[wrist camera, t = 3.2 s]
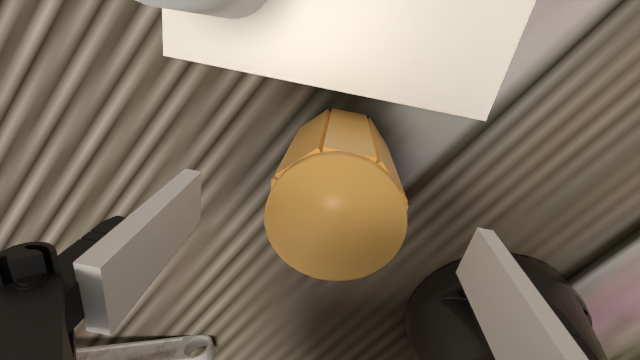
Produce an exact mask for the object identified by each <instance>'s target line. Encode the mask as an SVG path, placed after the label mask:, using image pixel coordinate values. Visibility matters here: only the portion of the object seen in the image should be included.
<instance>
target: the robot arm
mask: <svg viewBox="0 0 640 360" xmlns="http://www.w3.org/2000/svg"><path fill="white" fill-rule="evenodd" d="M200 211H201V172H200V171H195V170H190V169H184V170H183V171H182V172H181V173H179V174H178V175H177V176H176V177H175V178H173V179H172V180H171V181H170V182H169V183H167V184H166V185H165V186H164V187H163V188H161V189H160V190H159V191H158V192H157V193H155V194H154V195H153V196H152V197H151V198H149V199H148V200H147V201H146V202H145V203H143V204H142V205H141V206H140V207H139V208H137V209H136V210H135V211H134V212H133V213H131V214H130V215H129V216H128V217H122V216H115V217H112V218H110V219H108V220H105V221H103V222H101V223H100V224H99V225H97V226H96V227H95V228H93V229H92V230H91V232H88V233H87V234H85V235H84V236H83V237H82V238H81V239H79V240H78V241H76V242H75V243H74V244H72V245H71V246H70V247H69V248H67V249H66V250H65V251H63V252H62V253H61V254H59V255H58V256H57V252H56V249H55V247H54V246H53V245H51V244H49V243H45V242H28V243H23V244H19V245H15V246H12V247H10V248H8V249H5V250H3V251H1V252H0V360H76V342H75V332H74V328H75V327H76V326H77V325H78V324H79V323H80V322H81V320H82V319H83V318H84V321H85V326H86V331H89V332H94V333H100V334H105V335H110V336H111V335H112V333H113V332H114V331H115V329H116V328H117V327H118V326H119V324H120V323H121V322H122V320H123V319H124V318H125V317H126V315H127V314H128V313H129V312H130V310H131V309H132V308H133V306H134V305H135V304H136V303H137V301H138V300H139V299H140V297H141V296H142V295H143V294H144V292H145V291H146V290H147V289H148V287H149V286H150V285H151V283H152V282H153V281H154V280H155V278H156V277H157V276H158V274H159V273H160V272H161V271H162V269H163V268H164V267H165V266H166V264H167V263H168V262H169V260H170V259H171V258H172V257H173V255H174V254H175V253H176V251H177V250H178V249H179V248H180V246H181V245H182V244H183V243H184V241H185V240H186V239H187V237H188V236H189V235H190V234H191V232H192V231H193V230H194V228H195V227H196V226H197V225H198V223H199V222H200ZM405 325H406V331H407V336H408V341H409V345H410V349H411V351H412V354H413V356H414V358H415V360H607V358H606V356H605V353H604V351H603V349H602V347H601V345H600V343H599V341H598V339H597V337H596V335H595V333H594V331H593V329H592V321H591V317H590V314H589V311H588V309H587V307H586V305H585V303H584V301H583V300H582V298H581V297H580V295H579V294H578V293H577V292H576V291H575V290H574V288H573V287H572V286H571V285H570V284H569V283H568V282H567V281H566V279H565V278H564V277H563V276H562V275H561V274H560V273H559V272H557V271H556V270H555V269H553V268H552V267H550V266H549V265H547V264H545V263H543V262H541V261H538V260H536V259H533V258H530V257H526V256H521V255H514V254H510V252H509V251H508V250H507V248H506V247H505V246H504V244H503V243H502V242H501V240H500V239H499V238H498V236H497V235H496V233H495V232H494V231H493V230H488V229H483V228H478V227H477V229H476V231H475V233H474V235H473V237H472V239H471V241H470V244H469V246H468V248H467V250H466V252H465V254H464V256H463V258H462V260H460V261H457V262H454V263H452V264H450V265H448V266H446V267H444V268H442V269H440V270H438V271H437V272H435V273H434V274H432V275H431V276H430V277H428V278H427V279H426V280H425V281H424V282H423V283H422V284H421V285H420V286H419V287H418V288H417V290H416V291H415V292H414V294H413V295H412V297H411V299H410V301H409V303H408V306H407V309H406V314H405Z"/></svg>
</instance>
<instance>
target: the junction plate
mask: <svg viewBox="0 0 640 360" xmlns="http://www.w3.org/2000/svg"><path fill="white" fill-rule="evenodd" d="M136 1H138V2H140V3H143V4H145V5H149V6H153V7H158V8H162V25H163V56H168V57H173V58H177V59H182V60H187V61H192V62H197V63H202V64H207V65H212V66H217V67H222V68H227V69H231V70H236V71H241V72H246V73H251V74H256V75H261V76H266V77H271V78H276V79H281V80H285V81H290V82H295V83H300V84H305V85H310V86H315V87H320V88H325V89H330V90H335V91H339V92H344V93H349V94H354V95H359V96H364V97H369V98H374V99H379V100H384V101H389V102H393V103H398V104H403V105H408V106H413V107H418V108H423V109H428V110H433V111H438V112H443V113H448V114H452V115H457V116H462V117H467V118H472V119H477V120H482V121H486V120H487V117H488V115H489V112H490V110H491V108H492V105H493V103H494V100H495V98H496V96H497V93H498V91H499V88H500V86H501V84H502V81H503V79H504V76H505V74H506V72H507V69H508V67H509V64H510V62H511V59H512V57H513V55H514V52H515V50H516V47H517V45H518V43H519V40H520V38H521V35H522V33H523V31H524V28H525V26H526V23H527V21H528V19H529V16H530V14H531V11H532V9H533V7H534V4H535V2H536V0H136Z"/></svg>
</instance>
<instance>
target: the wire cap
mask: <svg viewBox="0 0 640 360" xmlns="http://www.w3.org/2000/svg"><path fill="white" fill-rule="evenodd" d="M407 202H408V200H407V198H406V195H405V192H404V190H403V187H402V184H401V181H400V179H399V176H398V173H397V171H396V168H395V165H394V162H393V160H392V157H391V154H390V152H389V149H388V146H387V144H386V143H385V141H384V140H383V138H382V136H381V135H380V133H379V132H378V130H377V128H376V127H375V125H374V124H373V122H372V120H371V119H370V117H369V118H368V119H367V115H363V114H358V113H353V112H348V111H343V110H338V109H334V108H332V109H331V113H330V111H329V110H328V109H327V110H326V111H324V112H323V113H321V114H320V115H318V116H317V117H315V118H314V119H312V120H311V121H309V122H308V123H306V124H305V125H303V126H302V127H300V128H299V130H298V131H297V133H296V135H295V137H294V139H293V141H292V143H291V144H290V146H289V148H288V150H287V152H286V154H285V156H284V158H283V159H282V161H281V163H280V165H279V167H278V169H277V171H276V173H275V175H274V176H273V178H272V183H271V191H270V194H269V197H268V199H267V202H266V206H265V211H264V224H265V230H266V234H267V237H268V239H269V241H270V243H271V245H272V247H273V249H274V250H275V251H276V253H277V254H278V255H279V256H280V257H281V258H282V259H283V260H284V261H285V262H286V263H287V264H288V265H290V266H291V267H293V268H294V269H296V270H297V271H299V272H301V273H303V274H305V275H308V276H311V277H314V278H318V279H322V280H328V281H347V280H354V279H358V278H362V277H365V276H367V275H370V274H372V273H374V272H376V271H378V270H379V269H381V268H382V267H384V266H385V265H386V264H387V263H388V262H390V261H391V260H392V259H393V257H394V256H395V255H396V254H397V252H398V251H399V249H400V248H401V246H402V243H403V241H404V239H405V235H406V231H407V210H408V207H409V206H408V204H407Z"/></svg>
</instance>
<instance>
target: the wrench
mask: <svg viewBox="0 0 640 360" xmlns="http://www.w3.org/2000/svg"><path fill="white" fill-rule="evenodd" d="M202 346H208V347H207V348H206V350H205V351H204V352H203V353H202V354H200V355H198V356H195V357H191V356H190V355H191V353H192V352H193V351H194V350H195V349H197V348H199V347H202ZM214 355H215V348H214V345H213V341H212V338H211V337H210V336H209V335H191V336H182V337H174V338H165V339H157V340H149V341H139V342H130V343H121V344H112V345H103V346H94V347H86V348H77V349H76V360H212V359H213V357H214Z"/></svg>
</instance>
